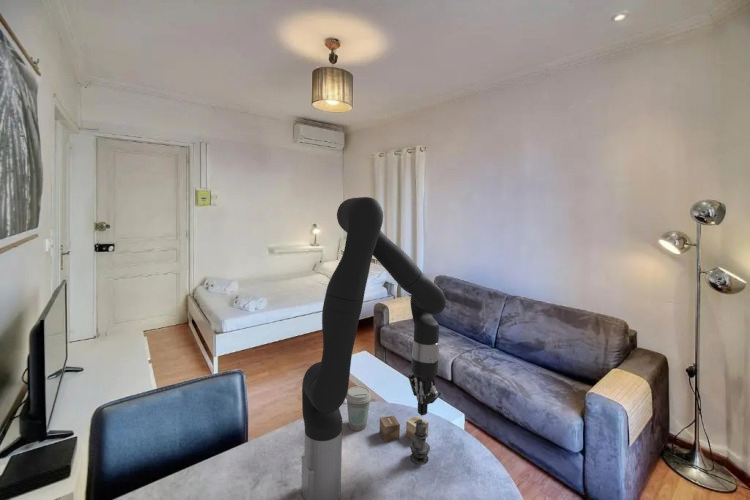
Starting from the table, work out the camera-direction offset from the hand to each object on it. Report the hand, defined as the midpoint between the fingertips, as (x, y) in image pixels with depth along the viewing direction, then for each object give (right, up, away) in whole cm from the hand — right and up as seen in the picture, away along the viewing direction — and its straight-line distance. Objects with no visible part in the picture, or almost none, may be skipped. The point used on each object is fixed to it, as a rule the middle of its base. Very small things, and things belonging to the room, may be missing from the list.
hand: (422, 413), depth 99 cm
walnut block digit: (-9, -13, +11) cm, 19 cm away
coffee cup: (-19, -12, +16) cm, 28 cm away
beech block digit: (0, -13, +12) cm, 17 cm away
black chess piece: (-1, -14, +1) cm, 14 cm away
